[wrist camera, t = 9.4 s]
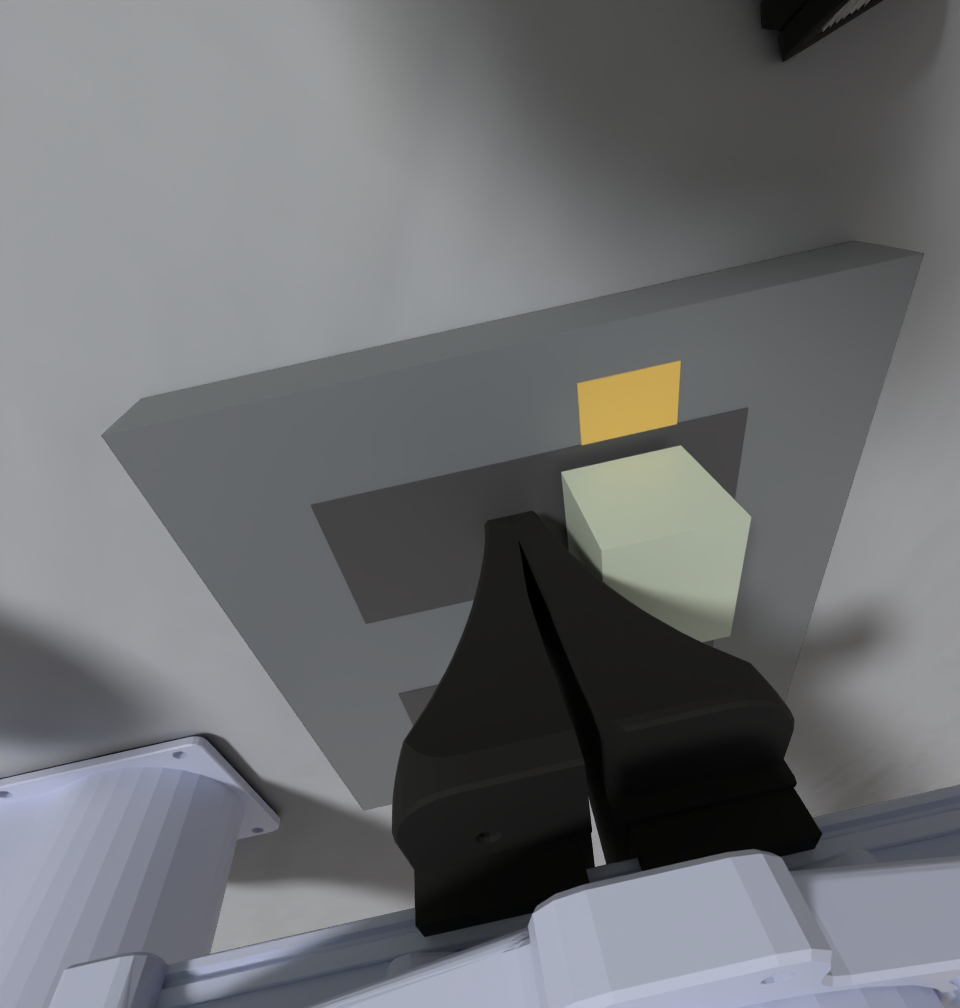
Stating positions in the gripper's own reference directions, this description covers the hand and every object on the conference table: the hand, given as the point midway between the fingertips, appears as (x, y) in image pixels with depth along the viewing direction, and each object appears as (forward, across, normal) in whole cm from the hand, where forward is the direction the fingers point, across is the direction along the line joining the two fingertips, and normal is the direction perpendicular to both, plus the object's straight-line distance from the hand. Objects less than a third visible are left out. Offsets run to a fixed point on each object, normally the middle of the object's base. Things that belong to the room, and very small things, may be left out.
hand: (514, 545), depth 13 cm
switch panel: (+3, -1, +4) cm, 5 cm away
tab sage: (0, -3, 0) cm, 3 cm away
